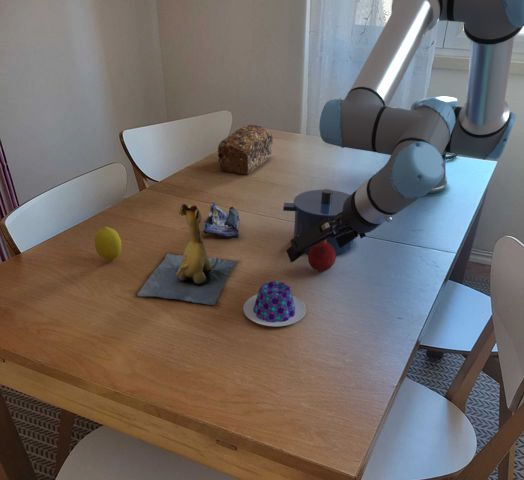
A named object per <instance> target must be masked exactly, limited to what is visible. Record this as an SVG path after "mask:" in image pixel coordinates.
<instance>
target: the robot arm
mask: <svg viewBox="0 0 524 480" xmlns="http://www.w3.org/2000/svg"><path fill="white" fill-rule="evenodd" d="M443 21H445V22H446V21H447V22H455V23H456V22H457V23H463V32H464V35H465V37H466V38H467V39H468V40H469V55H468V57H469V58H468V71H467V72H468V74H467V88H466V102H465V103H464V104H463V106H462V105H459V103H458V98H455V97H452V96H429V97H424V98H420V99H417V100H416V101H414V102H413V103H412V104H411V106H410V109H409V108H402V107H395V106H389V105H390V103H391V101H392V99H393V97H394V95H395V93H396V91H397V90H398V87H399V85H400V83H401V82H402V81H403V78H404V76H405V74H406V72H407V70H408V68H409V66H410V65H411V62H412V60H413V58H414V57H415V55H416V54H417V53H416V52H417V51H418V49H419V47H420V45H421V43H422V41H423V40H424V37H425V36H426V34H427V33H428V32H429V31H431V30H432V29H433V28H435V26H436V25H437V23H438V22H443ZM523 28H524V0H392V3H391V14H390V16H389V18H388V20H387V22H386V23H385V25H384V27H383V29H382V30H381V32H380V34H379V35H378V38H377V39H376V42H375V43H374V45H373V47H372V49H371V50H370V52H369V54H368V56H367V58H366V60H365V62H364V63H363V65H362V68H361V69H360V71H359V73H358V75H357V76H356V79H355V80H354V82H353V83H352V86H350V87H351V88H350V90H349V91H348V92H347V95H346V96H345V98H344V99H342V98H338V99H337V98H332V99H330V100H328V101H326V103H325V104H324V105H323V107H322V110H321V113H320V118H319V123H318V124H319V125H318V128H319V129H318V130H319V135H320V138H321V140H322V141H323V142H324V143H325V144H329V145H332V146H336V147H340V148H343V149H344V148H347V149H352V150H358V151H366V152H372V153H377V154H382V155H387V156H389V158H388V160H387V162H386V164H385V165H384V166H383V167H381V168H380V169H379V170H378V171H377V172H376V173H375V174H373V175H372V176H371V177H370V178H368V179H367V180H366V181H365V182H364V183H362V184H361V185H360V186H359V187H358V188H356V190H355V191H353V193H351V194H350V196H349V197H348V198H347V199H346V200H345V202H344V205H343V211H342V212H340V213H339V214H338V215H337V216H336V217H334V218H332V219H330V220H329V219H328V218H325V219H324V220H322V221H321V222H320V223H319V224H317V225H315V226H314V227H312V228H310V229H309V230H307V231H305V232H304V233H302V234H300V235H296V236H295V238H294V237H293V238H292V239H290V244H291V246H290V247H288V248H287V249H286V253H287V257H288V259H289V261H290V263H294V262H296V261H297V260H298V259H299V258H301V257H302V256H303V255H304V254H307V253H306V252H307V251H308V249H309V248H311V247H313V246H315V245H317V244H319V243H321V242H323V241H325V240H327V239H329V238H331V237H332V238H336V240H337V243H338V245H339V248H342V247H344V246H345V245H346V244H348V243H349V242H351V241H352V240H353V241H354V240H355V239H356V238H358V237H359V238H360V239H363V238H366V237H367V234H368V233H371V232H372V231H374V230H376V229H377V228H378V227H380V226H381V225H383V224H384V223H385V222H387V223H390V222H392V221H393V218H392V217H393V216H395V215H396V214H398V213H399V212H401V211H402V210H404V209H405V208H407V207H408V206H410V205H411V204H413V203H415V202H416V201H418V200H419V199H420V198H421V199H422V198H423V197H424V196H427V195H428V196H429V195H430V196H431V195H438V194H440V193H443V192H444V191H445V190H446V188H447V184H448V178H447V169H446V160H450V159H454V158H456V157H457V156H459V155H460V156H465V157H470V158H476V159H480V160H491V161H496V160H498V159H500V158H501V157H502V155H503V153H504V150H505V148H506V145H507V142H508V140H509V138H510V135H511V132H512V130H513V127H514V124H515V121H516V119H517V114H516V113H514V112H512V111H510V106H509V104H508V102H507V101H506V95H507V94H506V93H507V88H508V81H509V74H510V69H511V62H512V57H513V56H512V55H513V49H514V42H515V37H516V36H517V35H518V34H519V33H520V32H521V31H522V29H523ZM447 153H448V154H451V155H447ZM334 227H336V229H337V231H338V233H335V230H334Z"/></svg>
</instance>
